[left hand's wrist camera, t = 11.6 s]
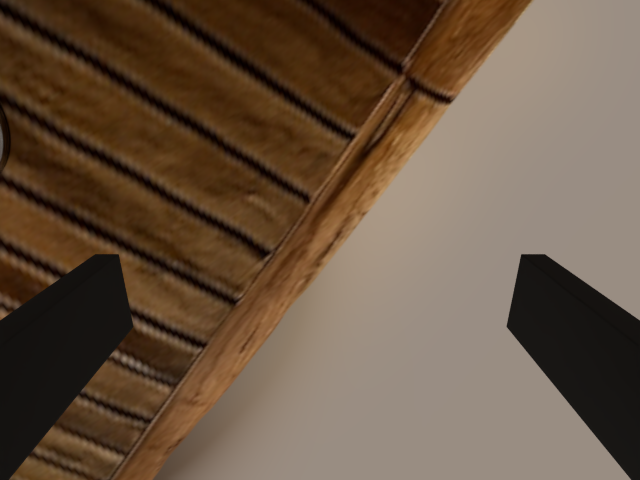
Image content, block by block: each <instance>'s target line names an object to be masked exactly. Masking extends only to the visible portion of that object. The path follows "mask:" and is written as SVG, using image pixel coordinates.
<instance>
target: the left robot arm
mask: <svg viewBox="0 0 640 480" xmlns="http://www.w3.org/2000/svg"><path fill="white" fill-rule="evenodd" d="M8 153H9V132H8V127H7V123H6V120H5V117H4V114H3V112H2V110H1V108H0V172H1V171H2V169H3V168H4V166H5V164H6V161H7V158H8ZM132 328H133V322H132V317H131V312H130V308H129V303H128V298H127V293H126V288H125V283H124V278H123V273H122V268H121V263H120V259H119V254H95V255H94V256H92V257H91V258H89V259H88V260H86V261H85V262H84V263H82V264H81V265H79V266H78V267H76V268H75V269H73V270H72V271H71V272H69V273H68V274H66V275H65V276H63V277H62V278H61V279H59V280H58V281H56V282H55V283H53V284H52V285H51V286H49V287H48V288H46V289H45V290H43V291H42V292H40V293H39V294H38V295H36V296H35V297H33V298H32V299H30V300H29V301H28V302H26V303H25V304H23V305H22V306H20V307H19V308H17V309H16V310H15V311H13V312H12V313H10V314H9V315H7V316H6V317H5V318H3V319H2V320H0V480H9V479H10V478H11V476H12V475H13V474H14V473H15V471H16V470H17V469H18V468H19V466H20V465H21V464H22V463H23V462H24V460H25V459H26V458H27V457H28V455H29V454H30V453H31V452H32V451H33V449H34V448H35V447H36V446H37V444H38V443H39V442H40V441H41V439H42V438H43V437H44V436H45V435H46V433H47V432H48V431H49V430H50V428H51V427H52V426H53V425H54V424H55V422H56V421H57V420H58V419H59V417H60V416H61V415H62V414H63V412H64V411H65V410H66V409H67V408H68V406H69V405H70V404H71V403H72V401H73V400H74V399H75V398H76V397H77V395H78V394H79V393H80V392H81V390H82V389H83V388H84V387H85V385H86V384H87V383H88V382H89V381H90V379H91V378H92V377H93V376H94V374H95V373H96V372H97V371H98V370H99V368H100V367H101V366H102V365H103V363H104V362H105V361H106V360H107V358H108V357H109V356H110V355H111V354H112V352H113V351H114V350H115V349H116V347H117V346H118V345H119V344H120V343H121V341H122V340H123V339H124V338H125V336H126V335H127V334H128V333H129V331H130V330H131V329H132ZM507 328H508V329H509V330H510V331H511V333H512V334H513V335H514V336H515V338H516V339H517V340H518V341H519V343H520V344H521V345H522V346H523V347H524V349H525V350H526V351H527V352H528V354H529V355H530V356H531V357H532V358H533V360H534V361H535V362H536V363H537V365H538V366H539V367H540V368H541V370H542V371H543V372H544V373H545V374H546V376H547V377H548V378H549V379H550V381H551V382H552V383H553V384H554V385H555V387H556V388H557V389H558V390H559V392H560V393H561V394H562V395H563V397H564V398H565V399H566V400H567V401H568V403H569V404H570V405H571V406H572V408H573V409H574V410H575V411H576V412H577V414H578V415H579V416H580V417H581V419H582V420H583V421H584V422H585V423H586V425H587V426H588V427H589V428H590V430H591V431H592V432H593V433H594V435H595V436H596V437H597V438H598V439H599V441H600V442H601V443H602V444H603V446H604V447H605V448H606V449H607V450H608V452H609V453H610V454H611V455H612V457H613V458H614V459H615V460H616V462H617V463H618V464H619V465H620V466H621V468H622V469H623V470H624V471H625V473H626V474H627V475H628V476H629V477H630V479H631V480H640V320H638V319H637V318H635V317H634V316H632V315H631V314H630V313H628V312H627V311H625V310H624V309H622V308H621V307H620V306H618V305H617V304H615V303H614V302H612V301H611V300H610V299H608V298H607V297H605V296H604V295H602V294H601V293H599V292H598V291H597V290H595V289H594V288H592V287H591V286H589V285H588V284H587V283H585V282H584V281H582V280H581V279H579V278H578V277H577V276H575V275H574V274H572V273H571V272H569V271H568V270H567V269H565V268H564V267H562V266H561V265H559V264H558V263H556V262H555V261H554V260H552V259H551V258H549V257H548V256H546V255H545V254H522V255H521V259H520V263H519V268H518V274H517V278H516V283H515V288H514V293H513V298H512V303H511V308H510V312H509V317H508V323H507Z"/></svg>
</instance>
